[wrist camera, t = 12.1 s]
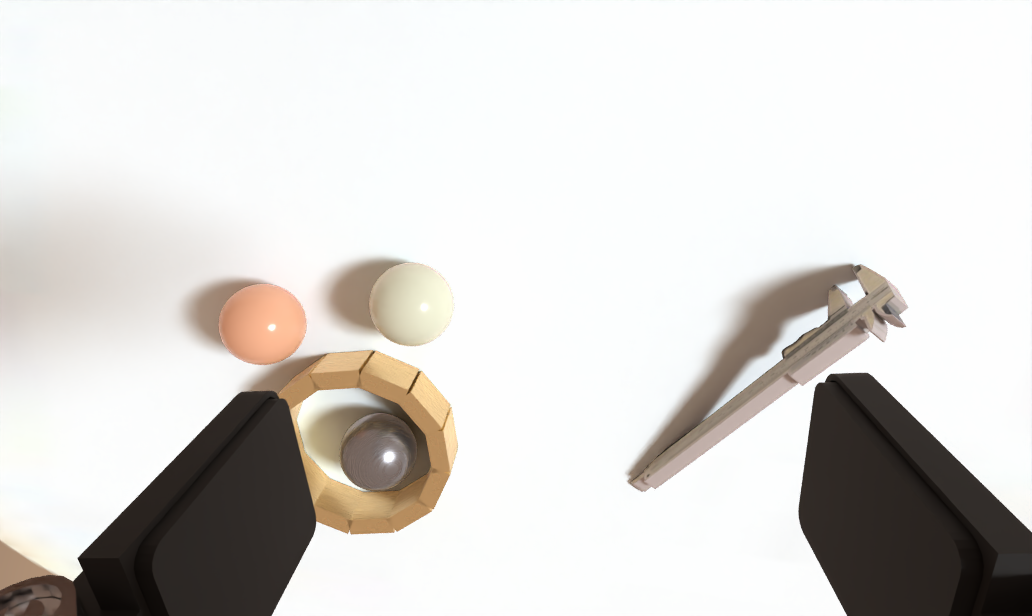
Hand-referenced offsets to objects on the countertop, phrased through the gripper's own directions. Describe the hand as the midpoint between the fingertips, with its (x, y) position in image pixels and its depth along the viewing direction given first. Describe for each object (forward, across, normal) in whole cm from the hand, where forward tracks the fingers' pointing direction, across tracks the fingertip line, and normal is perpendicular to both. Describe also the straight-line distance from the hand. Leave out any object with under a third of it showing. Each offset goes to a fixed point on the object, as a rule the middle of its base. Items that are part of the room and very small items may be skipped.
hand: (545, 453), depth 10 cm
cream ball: (+23, +9, +6) cm, 26 cm away
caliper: (+26, -12, +14) cm, 32 cm away
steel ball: (+23, +12, +16) cm, 31 cm away
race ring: (+26, +14, +16) cm, 33 cm away
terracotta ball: (+23, +18, +7) cm, 30 cm away
